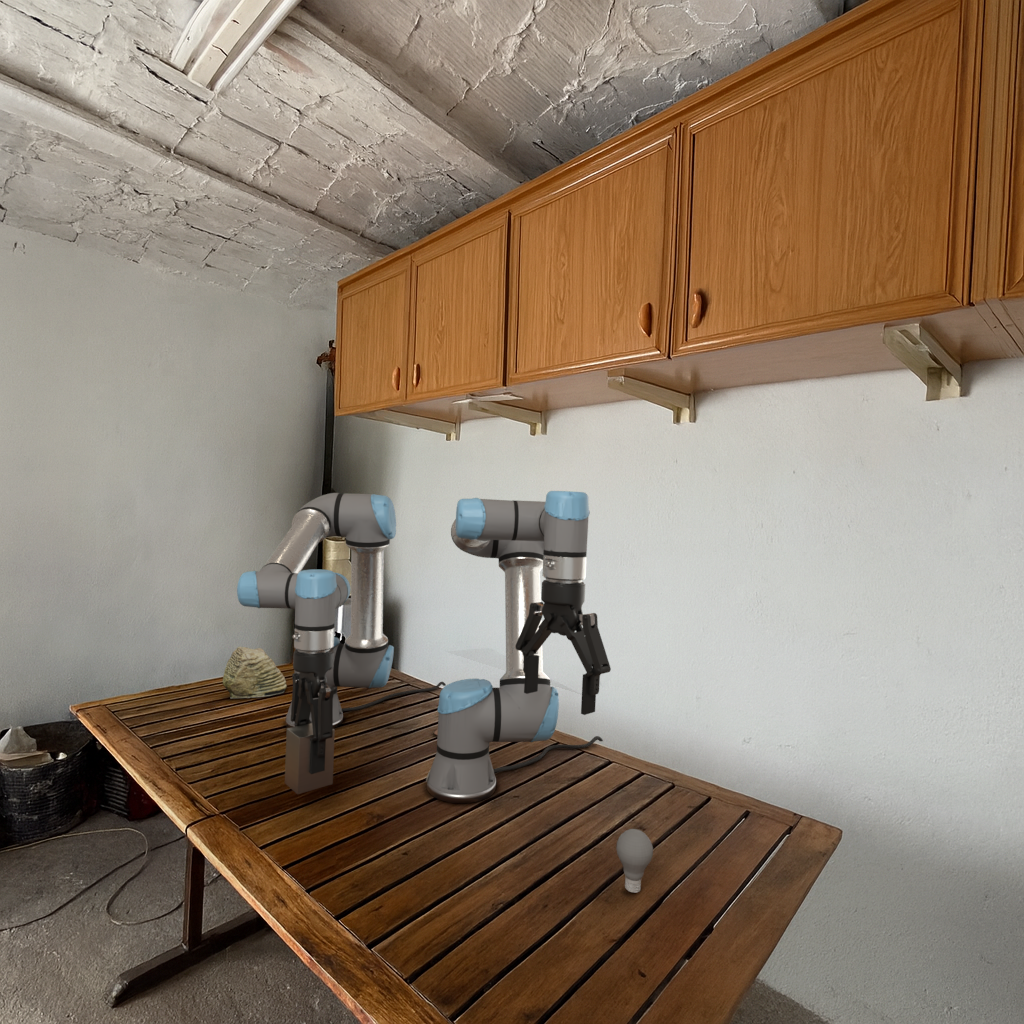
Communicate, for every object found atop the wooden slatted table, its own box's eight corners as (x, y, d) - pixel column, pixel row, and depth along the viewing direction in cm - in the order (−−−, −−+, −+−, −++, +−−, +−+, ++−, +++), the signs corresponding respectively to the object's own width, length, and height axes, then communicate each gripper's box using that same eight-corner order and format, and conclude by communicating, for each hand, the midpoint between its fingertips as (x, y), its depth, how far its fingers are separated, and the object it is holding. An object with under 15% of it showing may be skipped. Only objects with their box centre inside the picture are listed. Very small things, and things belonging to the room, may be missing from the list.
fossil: (218, 695, 195) (220, 647, 195) (278, 685, 208) (279, 640, 207) (228, 703, 189) (230, 653, 188) (289, 692, 201) (290, 645, 201)
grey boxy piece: (284, 783, 125) (286, 728, 124) (319, 773, 129) (321, 720, 129) (297, 794, 120) (299, 737, 120) (332, 784, 125) (334, 729, 125)
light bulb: (610, 879, 108) (613, 822, 108) (644, 879, 109) (647, 822, 109) (619, 902, 102) (622, 840, 102) (655, 901, 103) (658, 840, 103)
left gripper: (275, 641, 129) (271, 754, 129) (317, 662, 115) (312, 788, 115) (310, 637, 134) (306, 746, 134) (354, 656, 120) (350, 777, 120)
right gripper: (499, 572, 116) (494, 687, 117) (606, 591, 98) (600, 727, 98) (529, 571, 121) (524, 681, 122) (635, 588, 103) (629, 717, 103)
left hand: (309, 765), depth 125 cm, fingers closed on grey boxy piece, 6 cm apart
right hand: (558, 702), depth 110 cm, fingers open, 13 cm apart
